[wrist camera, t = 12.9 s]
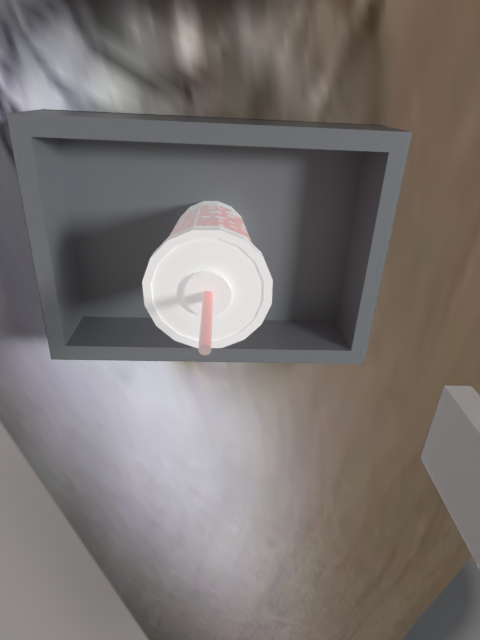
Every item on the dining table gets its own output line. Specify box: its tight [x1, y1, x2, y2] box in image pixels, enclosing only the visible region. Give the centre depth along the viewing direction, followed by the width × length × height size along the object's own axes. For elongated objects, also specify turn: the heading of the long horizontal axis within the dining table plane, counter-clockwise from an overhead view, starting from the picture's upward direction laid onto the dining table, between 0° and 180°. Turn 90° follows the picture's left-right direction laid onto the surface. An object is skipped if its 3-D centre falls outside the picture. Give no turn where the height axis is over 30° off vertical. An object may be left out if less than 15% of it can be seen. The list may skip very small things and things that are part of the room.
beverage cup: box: [142, 201, 273, 355], centre depth 22 cm, size 6×6×14 cm
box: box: [6, 109, 412, 364], centre depth 27 cm, size 14×20×5 cm
